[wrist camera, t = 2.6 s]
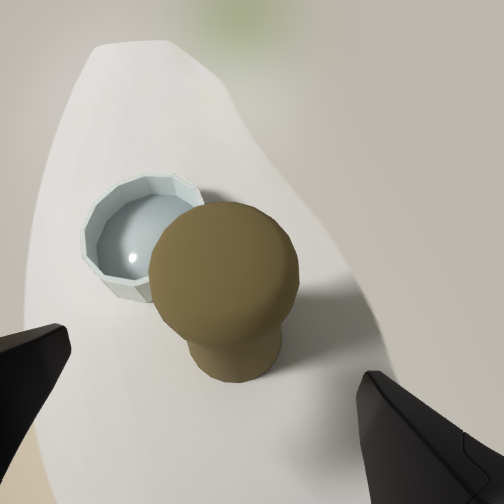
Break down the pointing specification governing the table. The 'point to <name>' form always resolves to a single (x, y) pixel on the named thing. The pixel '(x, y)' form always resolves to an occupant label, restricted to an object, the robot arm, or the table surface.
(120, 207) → the bowl
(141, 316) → the table surface
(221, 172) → the table surface
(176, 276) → the cork
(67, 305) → the table surface
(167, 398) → the table surface
